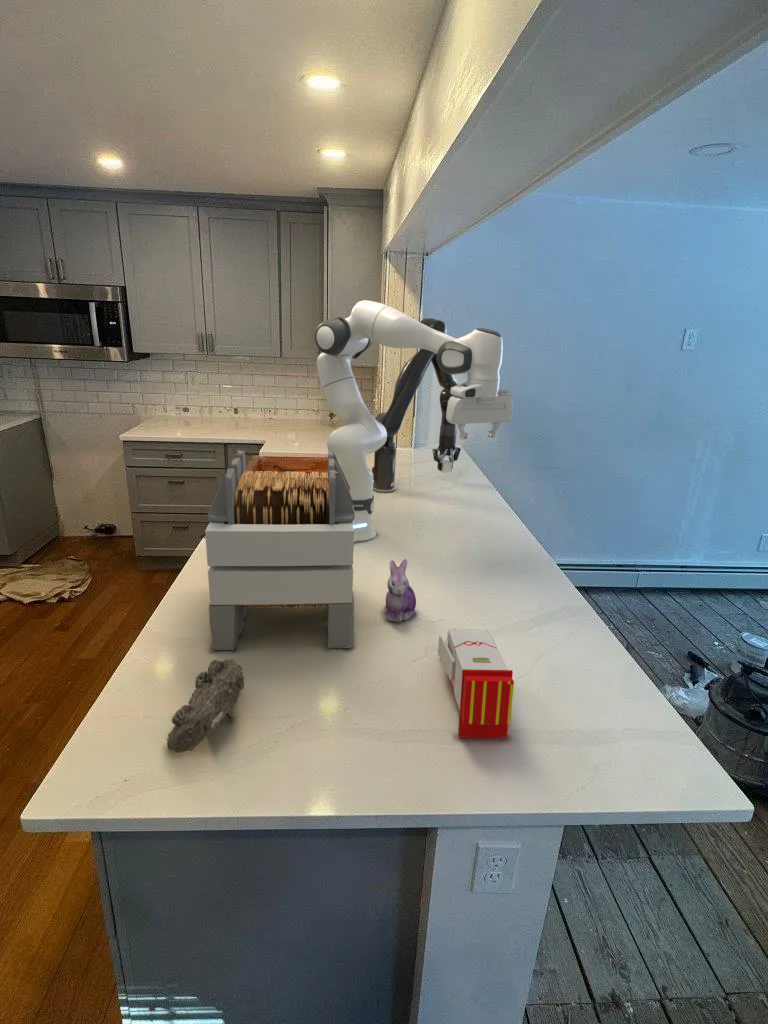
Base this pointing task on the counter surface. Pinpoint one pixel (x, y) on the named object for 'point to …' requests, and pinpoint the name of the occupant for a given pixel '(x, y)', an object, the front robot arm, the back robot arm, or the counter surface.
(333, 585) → the grey record crate stand
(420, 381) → the back robot arm
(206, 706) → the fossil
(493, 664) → the toy
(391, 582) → the figurine
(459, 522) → the counter surface
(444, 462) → the brick
